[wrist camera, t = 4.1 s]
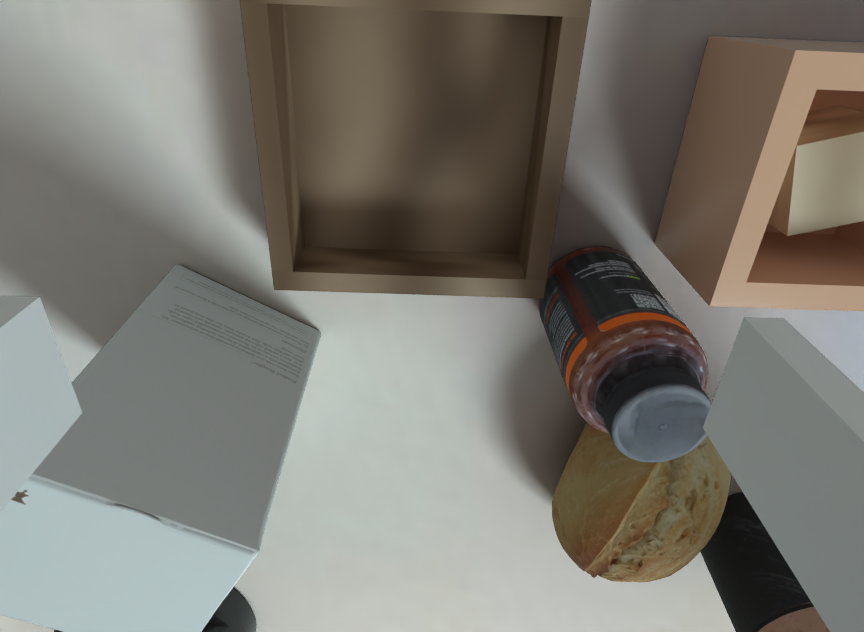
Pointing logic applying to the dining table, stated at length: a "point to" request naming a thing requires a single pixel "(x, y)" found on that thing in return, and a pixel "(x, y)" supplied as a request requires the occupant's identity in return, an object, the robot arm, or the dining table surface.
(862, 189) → the maple cube
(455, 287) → the walnut bin
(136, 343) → the supplement box
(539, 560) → the dining table surface
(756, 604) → the travel mug
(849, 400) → the robot arm
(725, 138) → the light wooden box
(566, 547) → the bread roll
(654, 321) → the supplement bottle
